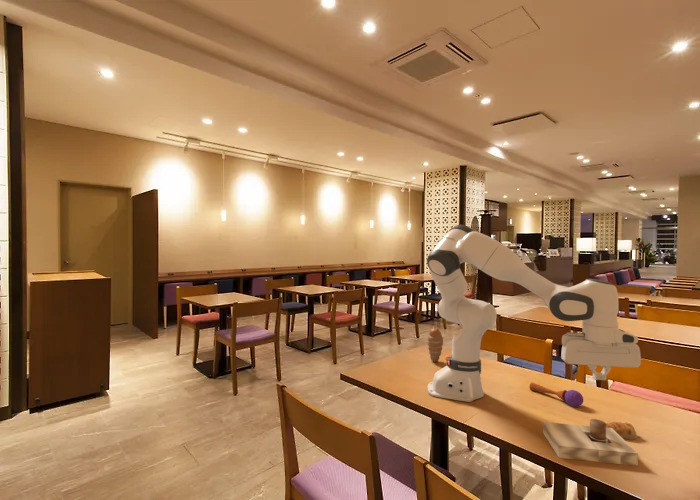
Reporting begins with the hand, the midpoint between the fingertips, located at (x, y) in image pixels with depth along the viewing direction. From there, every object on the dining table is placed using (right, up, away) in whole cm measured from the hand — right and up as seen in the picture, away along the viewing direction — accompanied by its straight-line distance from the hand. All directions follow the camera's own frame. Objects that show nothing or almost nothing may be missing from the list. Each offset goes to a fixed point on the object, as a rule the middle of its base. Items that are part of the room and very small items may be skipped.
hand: (599, 379), depth 108 cm
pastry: (+12, -21, +9) cm, 26 cm away
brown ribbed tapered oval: (-31, -20, +80) cm, 87 cm away
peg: (0, -21, 0) cm, 21 cm away
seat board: (-3, -21, +1) cm, 21 cm away
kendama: (+7, -21, +35) cm, 41 cm away
